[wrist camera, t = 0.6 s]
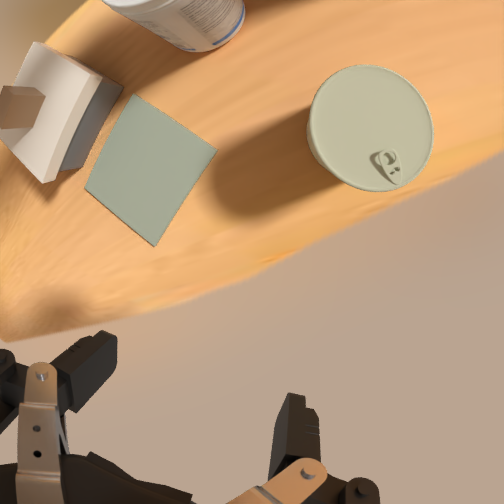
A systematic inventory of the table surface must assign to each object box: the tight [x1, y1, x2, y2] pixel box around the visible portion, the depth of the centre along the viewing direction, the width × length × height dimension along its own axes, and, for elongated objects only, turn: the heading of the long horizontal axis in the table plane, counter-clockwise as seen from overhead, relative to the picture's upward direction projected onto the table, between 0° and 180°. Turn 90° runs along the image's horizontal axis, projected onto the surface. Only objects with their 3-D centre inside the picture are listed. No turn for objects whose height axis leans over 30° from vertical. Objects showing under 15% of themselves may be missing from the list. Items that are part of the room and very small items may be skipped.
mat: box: [85, 94, 218, 247], centre depth 33 cm, size 14×13×1 cm
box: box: [58, 54, 124, 172], centre depth 29 cm, size 12×12×7 cm
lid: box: [0, 42, 103, 184], centre depth 23 cm, size 13×13×7 cm
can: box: [306, 65, 434, 192], centre depth 23 cm, size 9×9×12 cm
